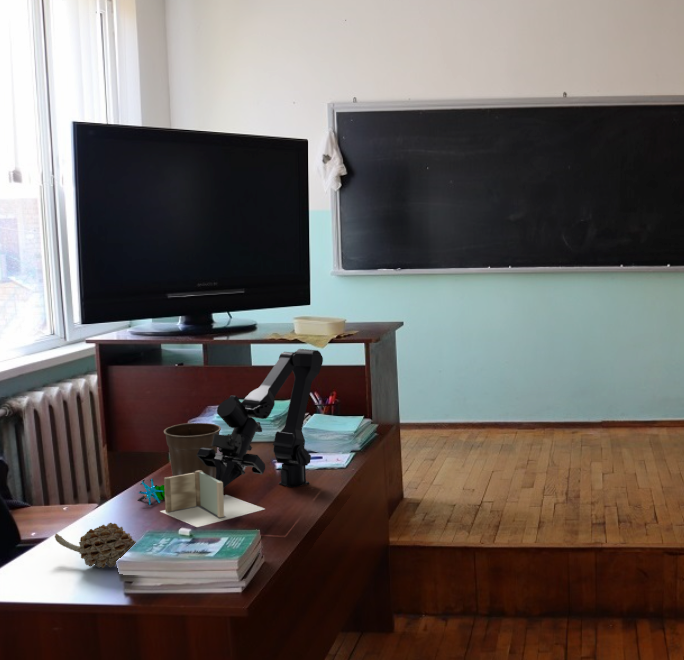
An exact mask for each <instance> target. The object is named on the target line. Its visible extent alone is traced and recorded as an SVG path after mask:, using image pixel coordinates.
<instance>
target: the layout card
mask: <svg viewBox="0 0 684 660" xmlns="http://www.w3.org/2000/svg"><path fill="white" fill-rule="evenodd" d="M223 501H224V517H218V516H217V515H216V514H214V513H212V512H211V511H209V510H207V509H206V508H204V507H202V506H195V507H190V508H185V509H180V510H175V511H171V512H166V511H165V509H163V510H159V512H160V513H162V514H165V515H167V516H169V517H172V518H173V519H176V520H178V521H181V522H183V523H186V524H189V526H190V525H191V526H193V527H196V528H200V527H203V526H208V525H212V524H215V523H219V522H223V521H226V520H227V521H228V520H231V519H234V518H237V517H238V518H239V517H241V516H246V515H248V514H254V513H256V512H260V511H263V510H265V508H264V507H262V506H259V505H256V504H253V503H250V502H247V501H245V500H242V499H240V498H237V497H234V496H231V495H229V494H225V495H224V494H223Z"/></svg>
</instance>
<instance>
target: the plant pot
mask: <svg viewBox="0 0 684 660" xmlns="http://www.w3.org/2000/svg"><path fill="white" fill-rule="evenodd" d="M221 430H222V427H221V426H220V425H219V424H214V423H208V422H189V423H188V422H187V423H180V424H175V425H172V426H169V427H166V428H165V429H164V430H163V434H164V435H165V439H166V445H167V446H168V452H169V460H170V467H171V473H172V476H178V475H183V474H189V473H195V471H198V470H201V471H203V473H205V474H207V475H209V476H211V477H213V478H215V479H216V468H214V467H208V466H206V465H204V463H203V462H202V461H201V460H200V459H199V458H198V457H197V456H196V455H197V453H198V451H199V449H200V448H210V449H213V450H214V451H215V452H216V453H217V454H218V447H216V446H214V447H213V446H212V442H213V437H214V434H220V432H221ZM195 488H196V486H195Z"/></svg>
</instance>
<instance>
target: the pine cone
mask: <svg viewBox="0 0 684 660" xmlns="http://www.w3.org/2000/svg"><path fill="white" fill-rule="evenodd" d="M54 538H55V541H56V542H57V543H58V544H60V546H62V547H64V548H67V549H69V550H71V551H74V552H76V553H79V555H80V559H82V560H84V563H85V565H86V566H88V567H93V566H96V567H97V568H103V569H104V568H105V567H106V566H107V567H109V568H112V567H115V566H116V565H117V564H116V561H117V560H118V559H119V558H121V557H122V556H123V555H124V554H125V553H126V552H127V551H128V550H129V549H130V548H131V547H132V546H133V545H134V544H135V543H136V544H137V541H136V540H134V539H133V536H132V535H131V533H130V532H128V533H127V532H126V530H124V528H123V526H120V527H119V526H118V524H117V523H115V522H114V523H112V522H109V523H107V524H106V525H105V524H101V525H100V526H98V527H96V528H94V529H92V528H91V529H90V528H89V530H88V531H86V533H85V534H84V535H82V536H81V537H80V538H79V539H80V540H79V542H78V544H79V545H77V544H73V543H71V542H69V541H68V540H66V539H64V538H63V537H62V536H61V535H59V533H55V535H54ZM94 564H95V565H94Z"/></svg>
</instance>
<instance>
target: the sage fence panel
mask: <svg viewBox="0 0 684 660" xmlns="http://www.w3.org/2000/svg"><path fill="white" fill-rule="evenodd" d="M199 477H200V502H201V506H202V507H204V508H206V509H207V510H209V511H211V512H212V513H214V514H216V515H217V516H218V517H224V501H223V495H224V488H223V482H221V481H219V480H217V479H215V478H213V477H211V476H209V475H207V474H205V473H203V472H199Z"/></svg>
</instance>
